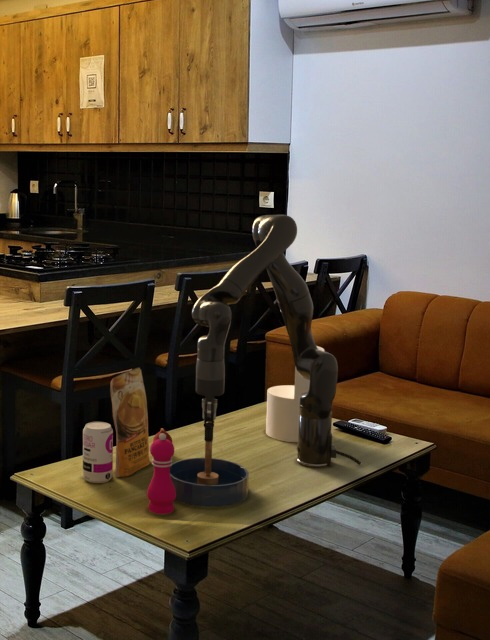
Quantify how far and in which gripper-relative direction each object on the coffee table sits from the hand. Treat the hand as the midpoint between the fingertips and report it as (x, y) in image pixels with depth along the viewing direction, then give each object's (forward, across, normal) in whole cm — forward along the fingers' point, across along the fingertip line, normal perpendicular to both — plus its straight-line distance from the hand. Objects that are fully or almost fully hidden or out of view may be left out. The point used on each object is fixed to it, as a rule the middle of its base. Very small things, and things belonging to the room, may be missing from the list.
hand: (208, 439), depth 233 cm
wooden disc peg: (+12, 0, 0) cm, 12 cm away
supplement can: (+14, +3, +30) cm, 33 cm away
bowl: (+14, -3, 0) cm, 14 cm away
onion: (+14, +26, +14) cm, 32 cm away
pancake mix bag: (+14, +12, +22) cm, 28 cm away
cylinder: (+14, +52, -26) cm, 60 cm away
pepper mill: (+14, -17, +11) cm, 25 cm away
